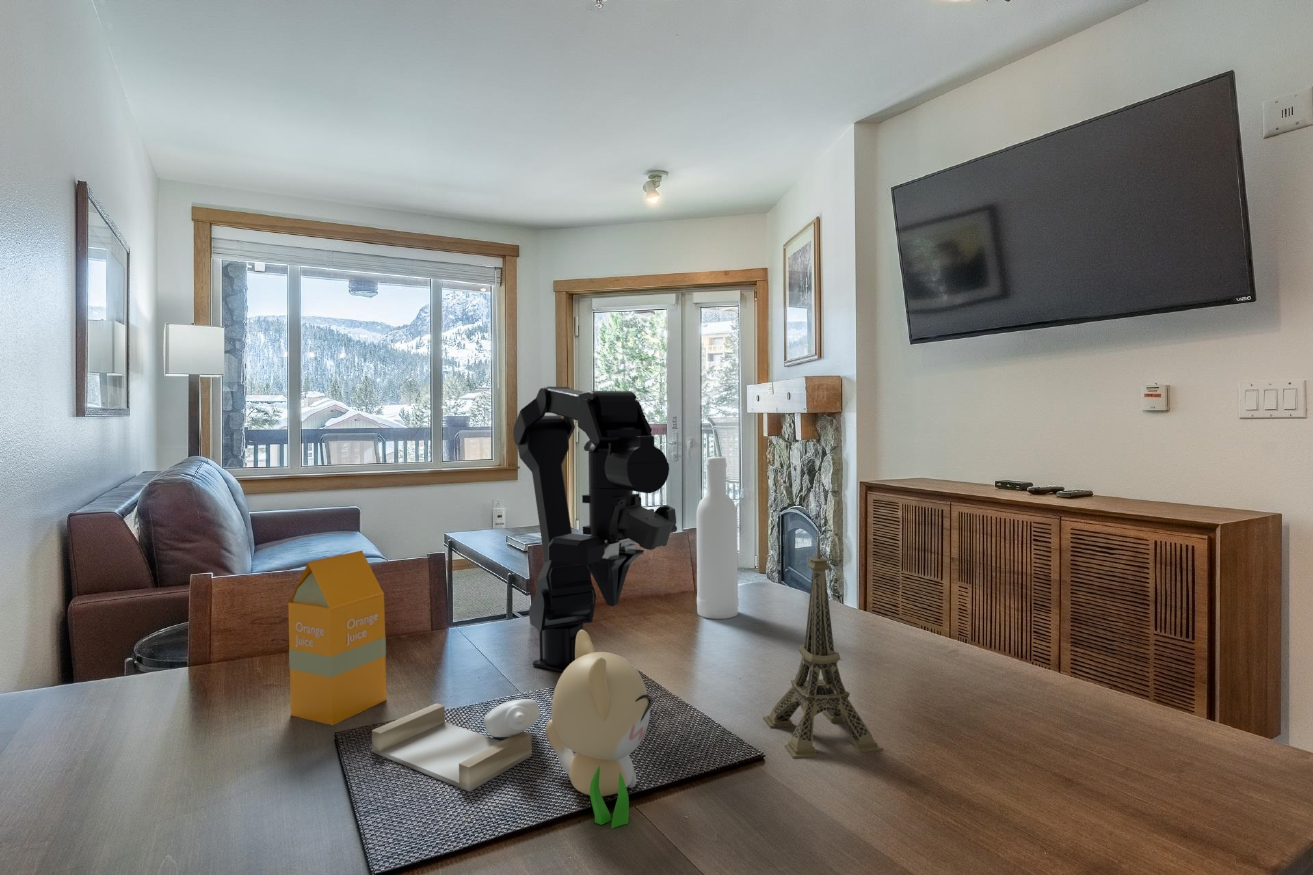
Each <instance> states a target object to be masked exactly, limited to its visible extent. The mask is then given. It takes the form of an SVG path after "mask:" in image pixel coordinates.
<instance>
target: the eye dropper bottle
mask: <svg viewBox="0 0 1313 875" xmlns="http://www.w3.org/2000/svg"><path fill="white" fill-rule="evenodd" d="M540 717H541V712H540V708H539V706H538V703H537V702H536V700H534V699H532V698H522V699H513V700H509V701H506V702H503V703H501V704H499V705H497V706H496V707H494V708H493V709H491V710H490V711H489V712H488V713H486V715H485V716H484V718H483V724H484V727H485V730H486V733H487V734H488V735H490V736H491V737H493V738H494V737H495V738H508V737H510V736H513V735H516V734H519V733H521V732H523V731H524V732H526V731H527V730H528V729H530V728H532V726H534V725H535V723H537V722H538V721H539V719H540Z"/></svg>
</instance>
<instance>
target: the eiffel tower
mask: <svg viewBox="0 0 1313 875" xmlns="http://www.w3.org/2000/svg"><path fill="white" fill-rule="evenodd" d="M817 529H818V530H817V534H818V535H817V549H816V550H817V552H816V556H814V557H808V559H809V562H808V563H807V564H806V566H807V567H809V569H811V570H812V572H811V581H810V593H809V602H808V612H807V622H806V631H805V641H804V644H800V645H799V649H798V652H799V653H800V655H801V656H802V657H801V661H800V664H799V668H798V672H797V673H796V675H795V678H794V679H790V682H791V685H792V687H790V688H789V690H787V692H786V693H785V695H783V696H782V697H781V699H780V700H779V701H778V702H777V703H776V705H775V706H774V707H773V708H772V710H771V712H770V714H768V715H766V716H762V719H763V721H764V722H765V723H766V724H767V726H768V727H769V729H773V728H784V727H792V726H793V721H792V720H791V718H792V717H793V715H794V714H795V712H796V711H797V710H798V709H799V707H800V708H801V710H802V712H803V715H802V717H801V718H800V720H799V723H798V724H797V725H796V728H795V730H794V731H793V733H792V734H791V737H790V741H788V743H787V744H784V749H785V750H786V751H787V752H788V754H789V755H790V756H791V757H792V759H800V758H801V759H803V758H809V757H810V758H811V757H813V758H815V757H818V753H817V752H816V748H815V747H814V746H813V745H814V742H813V741H814V726H815V725H814V724H815V716H817V715H819V714H821V713H822V715H824V717H825V718H827V720H828V721H829V722H830V723H831V724H832V723H845V726H846V728H847V730H848V731H849V732H850V734H851V735H849V736H848V738H849V743H850V744H852V746H854V748H856V750H857V751H858V752H859V753H863V752H864V753H867V752H876V751H883V750H884V748H883V746H882V745H881V744H880V743H879V742H878V741H876V740H875V738H874V737H873V734H872V733H871V732H870V729H869V728H868V726H867V725H866V723H865V722H864V721H863V719H862V717H860V715H859V713H858V712H857V710H856V708H855V707H854V706H853V704H852V703H851V701H850V699H849V697H850V695H851V693H850V692H848V691H847V690H846V688H845V686H844V684H843V681H842V678H841V674H840V670H839V667H838V662H839V661H841V656H840V652H838V651H835V647H834V638H833V630H832V629H833V627H832V621H831V620H832V619H831V610H830V601H829V594H828V593H829V592H828V585H827V584H828V583H827V576H826V571H828V570H830V569H832V567H831V565H830V564H829V561H830V559H828V558H826V557H824V556H821V545H820V544H821V543H820V542H821V541H820V523H818V524H817ZM820 672H821V675H822V678H820Z"/></svg>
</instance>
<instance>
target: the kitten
mask: <svg viewBox="0 0 1313 875" xmlns="http://www.w3.org/2000/svg"><path fill="white" fill-rule="evenodd" d="M652 705H653V697H652V696H651V695H649V694H648V691H647V688H646V684H645V682H644V680H643V677H642V676H641V674H640V673H639V671H638V669H637V668H636V667H635V666H634V665H633V664H632V663H631V662H630V661H629V660H628V659H626V658H624V657H623V656H621V655H618V654H615V653H611V652H609V651H608V652H606V651H596V649H595V646H594V644H593V642H592V640H591V637H590V634H589V633H588V632H587V631H586V630H584V629H583V630H580V631H579V632H578V633H577V636H576V644H575V661H573V662H572V663H571V664H570V665H569V666H568V667H567V668H566V669H565V670H564V672H561V674H560V677H559V679H558V680H557V683H556V686H555V688H554V692H553V695H552V702H551V709H550V710H551V712H550V713H551V719H549V720H548V722H547V723H546V727H545V733H546V738H547V741H548V743H549V745H550V746H551V748H552V749H553V750H554V752H555V755H556V756H557V758H558V762H559V763H560V766H561V767H562V769H563V771H564V772H565V773H566V774H567V775H568V776H569V780H570V783H571V784H572V786H573V787H574V789H576V790H577V791H578V792H580V793H582V794H584V795H588V796H589V798H590V802H591V806H592V810H593V814H594V823H595V824H598V825H600V826H602V825H604V824H607V823H609V822H610V825H611V827H610V829H615V828H617V827H620V826H623V825H628V824H629V813H630V812H629V811H630V805H629V804H630V800H629V794H628V789H627V788H630V789H633V788H634V787H635V786H636V785H637V774H636V772H635V770H634V765H633V761H632V758H631V756H630V754H631V753H633V752H634V751H635V750H636V749H637V748H638V747H639V745H640V744H641V743H642V740H643V739H644V737H645V734H646V732H647V730H648V727H649V723H650V722H649V721H650V717H651V707H652ZM574 753H575V754H574ZM616 794H617V799H616V802H615V806H614V810H613V813H612V816H611V813H610V811H609V809H608V807H607V805H606V803H605V801H604V799H603V797H607V796H611V795H616Z"/></svg>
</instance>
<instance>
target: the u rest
mask: <svg viewBox="0 0 1313 875" xmlns="http://www.w3.org/2000/svg"><path fill="white" fill-rule="evenodd" d="M445 713H446V712H445V705H443V704H441V703H434V704H431V705H428V706H427V707H424V708H422V709H420V710H417V711H414V712H413V713H409V714H407V715H406V716H405V715H404V716H402V717H401V718H398V719H395V720H393V721H391V722H388V723H386V724H383V725H381V726H379V727H376V728H374V729H371V745H372V746H371V749H372V750H371V752H372V753H374V754H376V755H378V756H381V757H384V758H385V759H389V760H391V761H392V762H395V763H398V764H401V765H403V766H405V767H408V768H410V769H412V770H415V771H417V772H420V773H423V774H425V775H427V776H430V777H433V778H435V779H437V780H440V781H442V782H444V783H447V784H450V785H452V786H454V787H456V788H459V789H460V790H461V789H462V790H463V791H466V792H472V791H473V790H476V789H477V788H478V787H480V786H482V785H484V784H485V783H487V782H489V781H491V780H492V779H494V778H496V777H498V776H499V775H501V774H503V773H504V772H506V771H509V770H510V769H511V768H513V767H515V766H517V765H518V764H521V763H522V762H524V761H526V760H527V759H529V758H531V757H532V756H533V754H532V753H533V752H532V751H533V750H532V748H533V747H532V746H533V745H532V733H530V732H527V731H523V732H521V733H519V734H516V735H513V736H508V737H506V738H505V739H503V740H499V739H496V738H494V737H489V736H487V735H484V734H481V733H478V732H476V731H473V730H469V729H467V728H464V727H460V726H458V725H454V724H452V723H449V722H446V721H445V720H446V716H445V715H446V714H445Z"/></svg>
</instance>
